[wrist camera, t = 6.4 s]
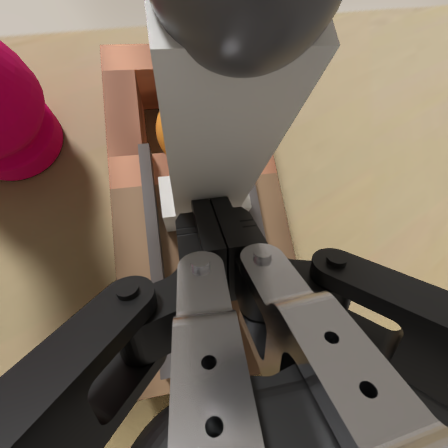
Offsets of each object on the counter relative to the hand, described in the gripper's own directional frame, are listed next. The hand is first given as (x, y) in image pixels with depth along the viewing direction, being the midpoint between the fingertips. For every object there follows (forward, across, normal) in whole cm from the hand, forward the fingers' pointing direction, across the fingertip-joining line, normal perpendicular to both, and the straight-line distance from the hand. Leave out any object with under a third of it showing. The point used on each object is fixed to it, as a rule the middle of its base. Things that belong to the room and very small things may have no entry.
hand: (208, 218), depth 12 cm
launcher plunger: (+4, 0, +2) cm, 5 cm away
